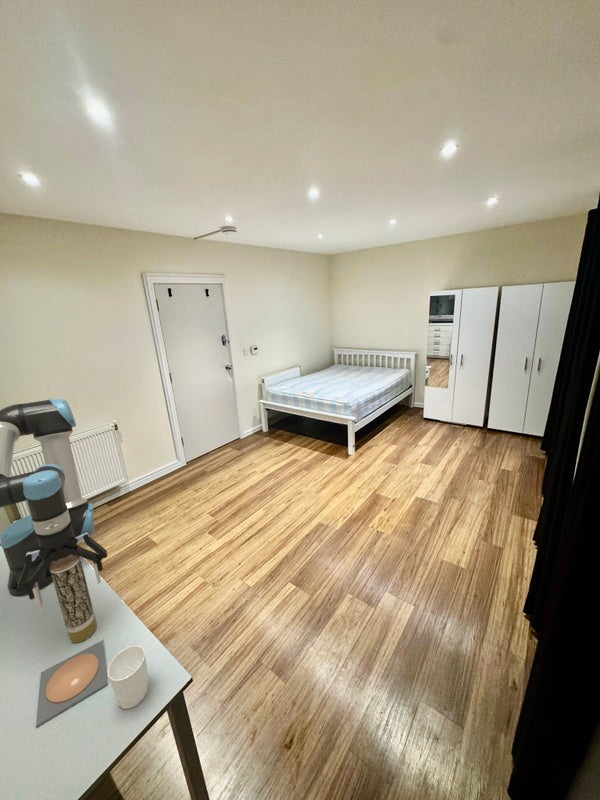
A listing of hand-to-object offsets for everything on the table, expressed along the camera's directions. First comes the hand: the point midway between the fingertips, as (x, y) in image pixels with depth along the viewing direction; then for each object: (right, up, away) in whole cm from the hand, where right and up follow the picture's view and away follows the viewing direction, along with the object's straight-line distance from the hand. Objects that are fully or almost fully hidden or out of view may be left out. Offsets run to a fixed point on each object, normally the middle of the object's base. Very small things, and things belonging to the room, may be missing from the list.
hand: (71, 592), depth 88 cm
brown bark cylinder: (+1, -14, +4) cm, 15 cm away
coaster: (+7, -17, -9) cm, 20 cm away
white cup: (+24, -17, -12) cm, 32 cm away
